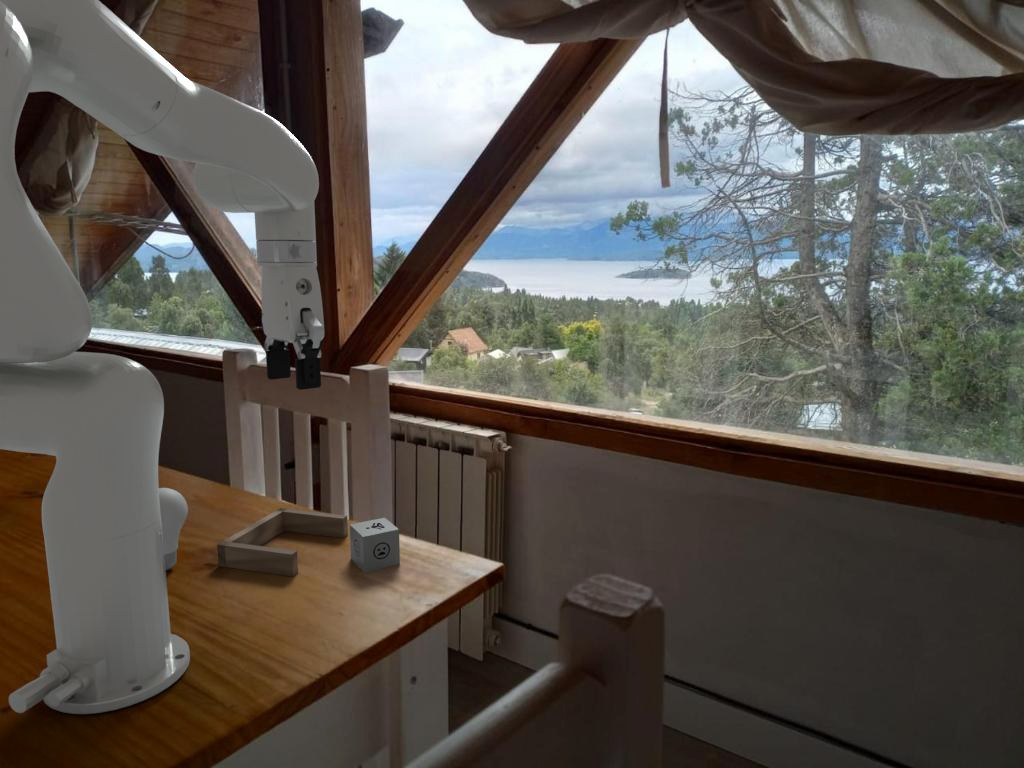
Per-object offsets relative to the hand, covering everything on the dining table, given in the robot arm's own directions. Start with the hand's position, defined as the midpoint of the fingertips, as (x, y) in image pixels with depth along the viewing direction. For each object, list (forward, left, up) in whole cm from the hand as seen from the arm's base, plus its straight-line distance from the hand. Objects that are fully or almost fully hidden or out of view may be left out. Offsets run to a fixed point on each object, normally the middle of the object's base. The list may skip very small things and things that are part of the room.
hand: (293, 383), depth 95 cm
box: (-2, +1, -24) cm, 24 cm away
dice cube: (-2, -12, -24) cm, 27 cm away
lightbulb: (-12, +13, -24) cm, 29 cm away
